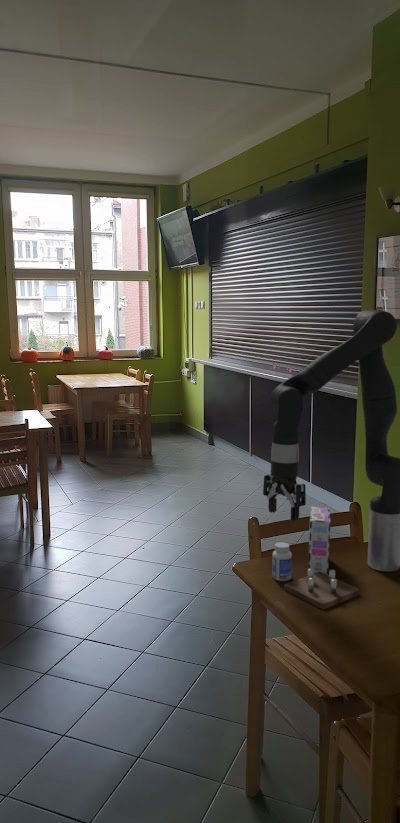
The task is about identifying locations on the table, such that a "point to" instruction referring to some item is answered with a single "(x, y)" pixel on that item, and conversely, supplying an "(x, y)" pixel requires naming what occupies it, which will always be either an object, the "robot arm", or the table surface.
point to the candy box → (319, 539)
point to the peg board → (321, 591)
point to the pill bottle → (282, 562)
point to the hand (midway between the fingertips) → (283, 515)
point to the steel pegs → (331, 581)
